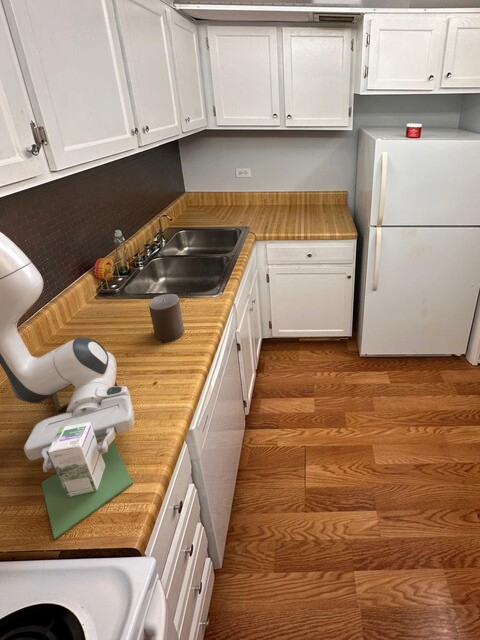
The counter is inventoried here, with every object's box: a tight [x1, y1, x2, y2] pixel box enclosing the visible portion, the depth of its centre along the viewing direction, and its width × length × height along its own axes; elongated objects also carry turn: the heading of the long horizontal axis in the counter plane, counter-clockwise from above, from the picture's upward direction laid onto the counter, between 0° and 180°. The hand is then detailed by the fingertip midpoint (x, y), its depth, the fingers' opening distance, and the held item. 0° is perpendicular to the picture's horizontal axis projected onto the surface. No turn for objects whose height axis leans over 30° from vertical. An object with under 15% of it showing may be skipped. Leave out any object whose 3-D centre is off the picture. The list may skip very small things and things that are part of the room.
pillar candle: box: [148, 293, 185, 343], centre depth 116 cm, size 10×10×15 cm
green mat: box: [40, 440, 134, 540], centre depth 72 cm, size 14×14×1 cm
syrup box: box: [48, 422, 105, 498], centre depth 70 cm, size 6×6×14 cm
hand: (75, 460), depth 68 cm, fingers open, 8 cm apart
